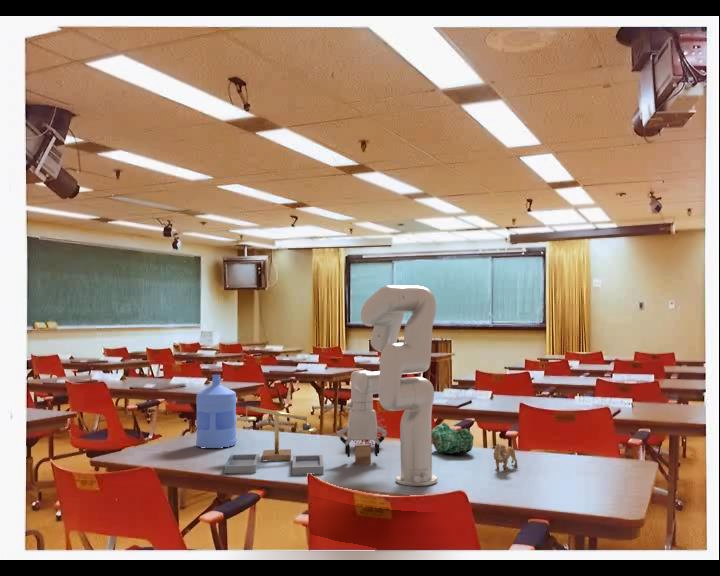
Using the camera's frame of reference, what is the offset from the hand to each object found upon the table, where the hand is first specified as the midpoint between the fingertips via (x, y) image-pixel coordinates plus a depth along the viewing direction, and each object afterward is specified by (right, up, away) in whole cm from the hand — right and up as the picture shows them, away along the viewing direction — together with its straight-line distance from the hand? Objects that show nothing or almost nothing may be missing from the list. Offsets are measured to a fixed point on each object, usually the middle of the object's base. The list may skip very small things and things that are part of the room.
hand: (362, 455), depth 229 cm
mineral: (+33, -3, +14) cm, 36 cm away
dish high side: (-41, -3, -5) cm, 41 cm away
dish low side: (-18, -2, -8) cm, 20 cm away
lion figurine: (+47, -1, -13) cm, 49 cm away
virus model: (+2, -4, +27) cm, 27 cm away
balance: (-31, -3, +9) cm, 32 cm away
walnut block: (0, -2, 0) cm, 2 cm away
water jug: (-58, -5, +34) cm, 67 cm away
